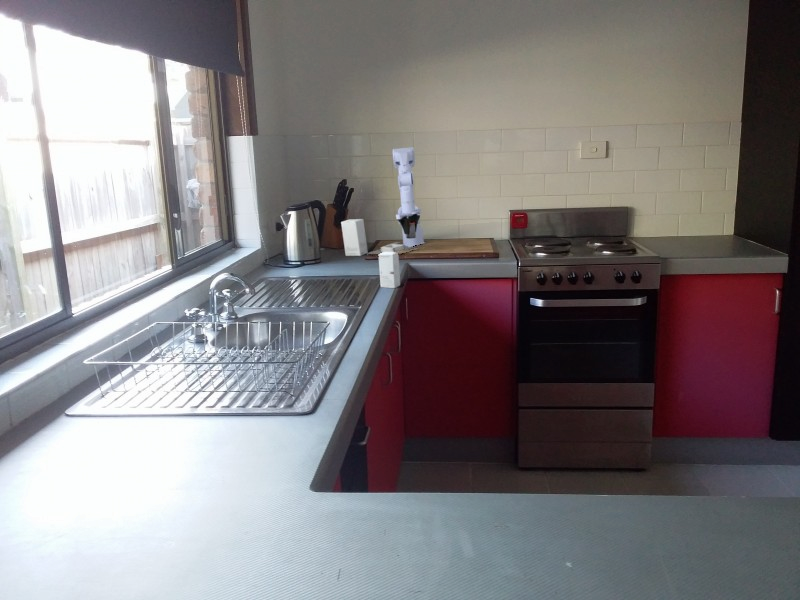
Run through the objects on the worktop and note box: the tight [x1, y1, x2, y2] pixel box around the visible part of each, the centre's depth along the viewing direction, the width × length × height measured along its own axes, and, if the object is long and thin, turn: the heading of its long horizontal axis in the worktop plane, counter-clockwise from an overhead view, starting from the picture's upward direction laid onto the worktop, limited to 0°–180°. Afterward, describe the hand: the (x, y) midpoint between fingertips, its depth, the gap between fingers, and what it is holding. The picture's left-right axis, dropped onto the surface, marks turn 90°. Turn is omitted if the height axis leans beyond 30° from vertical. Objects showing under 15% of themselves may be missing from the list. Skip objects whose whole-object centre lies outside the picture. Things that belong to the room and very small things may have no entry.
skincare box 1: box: [340, 218, 369, 257], centre depth 308 cm, size 8×7×16 cm
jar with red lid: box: [406, 222, 416, 239], centre depth 299 cm, size 4×4×6 cm
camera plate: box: [366, 241, 419, 256], centre depth 307 cm, size 18×14×3 cm
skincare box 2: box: [378, 252, 401, 289], centre depth 244 cm, size 6×4×12 cm
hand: (410, 233), depth 300 cm, fingers closed on jar with red lid, 4 cm apart
